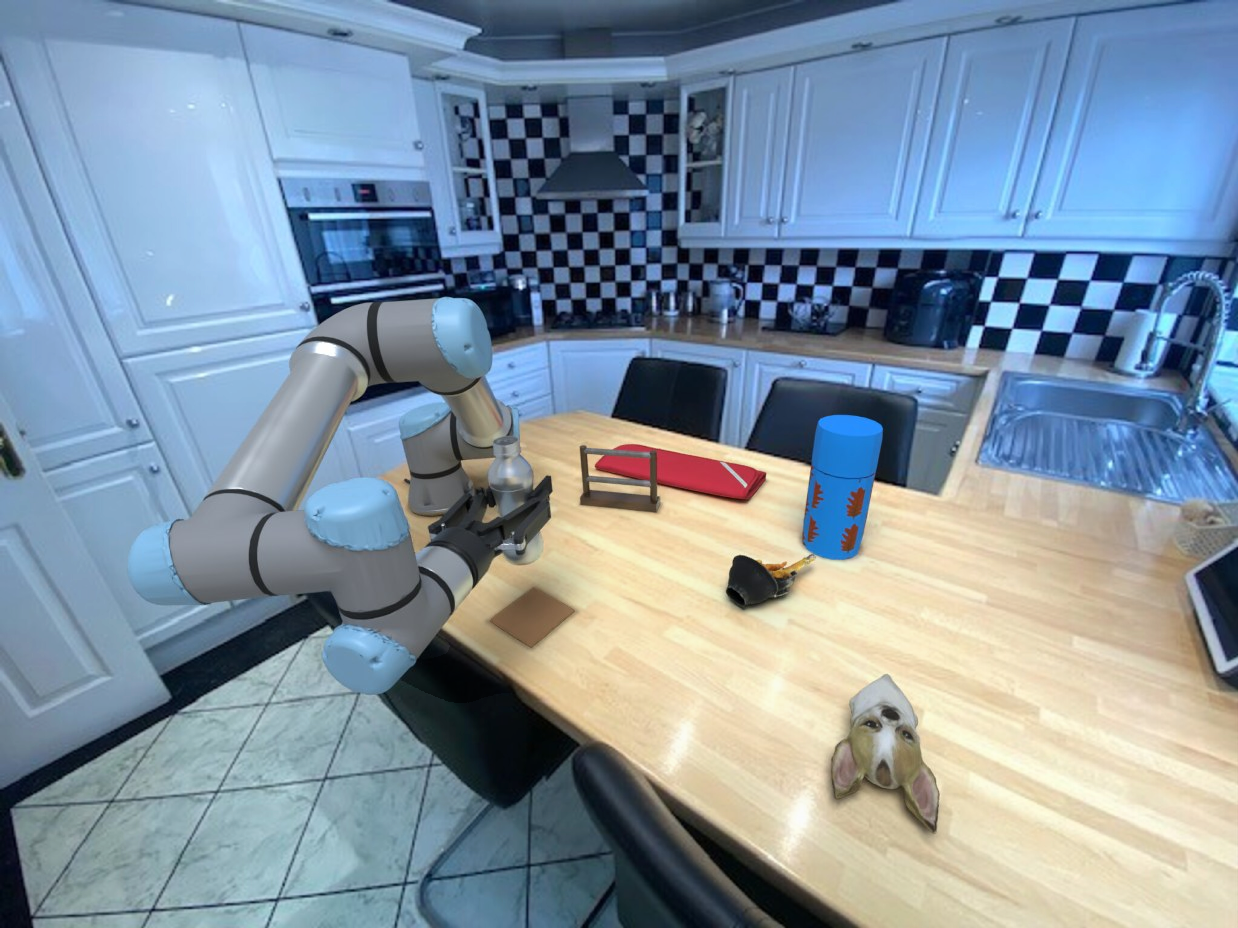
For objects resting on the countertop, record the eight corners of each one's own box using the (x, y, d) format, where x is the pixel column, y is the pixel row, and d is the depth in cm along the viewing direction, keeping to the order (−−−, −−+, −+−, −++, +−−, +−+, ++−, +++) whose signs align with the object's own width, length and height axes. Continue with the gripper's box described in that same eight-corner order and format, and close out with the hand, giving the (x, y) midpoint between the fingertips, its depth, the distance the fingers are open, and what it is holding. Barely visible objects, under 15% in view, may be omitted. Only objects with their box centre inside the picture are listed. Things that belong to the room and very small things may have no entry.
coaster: (489, 621, 84) (489, 619, 84) (533, 589, 91) (533, 587, 91) (531, 647, 78) (530, 645, 78) (574, 611, 85) (574, 609, 85)
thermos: (861, 535, 102) (884, 418, 91) (859, 565, 93) (884, 440, 82) (804, 524, 106) (819, 412, 95) (797, 552, 97) (813, 431, 87)
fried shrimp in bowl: (704, 573, 85) (765, 507, 93) (734, 621, 88) (791, 553, 96) (743, 583, 77) (806, 510, 85) (774, 635, 80) (833, 560, 88)
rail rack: (580, 504, 118) (575, 449, 112) (586, 496, 121) (581, 442, 115) (656, 512, 113) (655, 455, 107) (659, 503, 116) (659, 448, 110)
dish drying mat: (625, 449, 145) (625, 437, 144) (766, 479, 125) (768, 465, 123) (594, 471, 133) (593, 458, 132) (745, 507, 113) (746, 493, 112)
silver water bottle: (537, 572, 76) (520, 450, 67) (495, 568, 77) (473, 448, 69) (550, 548, 81) (536, 433, 73) (511, 545, 83) (493, 431, 74)
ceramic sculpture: (940, 677, 59) (957, 803, 48) (924, 723, 64) (936, 851, 52) (842, 652, 63) (835, 763, 52) (833, 697, 68) (825, 810, 56)
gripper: (385, 585, 63) (478, 496, 83) (525, 607, 58) (588, 508, 78) (370, 534, 60) (471, 455, 80) (517, 553, 55) (585, 464, 75)
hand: (529, 481), depth 79 cm, fingers closed on silver water bottle, 6 cm apart
